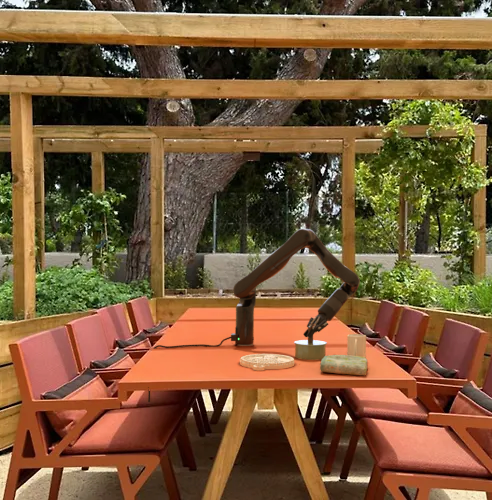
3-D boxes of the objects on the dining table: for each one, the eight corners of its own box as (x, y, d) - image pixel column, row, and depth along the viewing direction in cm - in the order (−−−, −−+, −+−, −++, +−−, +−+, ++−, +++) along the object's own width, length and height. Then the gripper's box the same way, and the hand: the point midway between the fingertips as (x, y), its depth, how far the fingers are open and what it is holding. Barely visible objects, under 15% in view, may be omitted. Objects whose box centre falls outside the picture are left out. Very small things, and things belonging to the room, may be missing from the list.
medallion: (299, 360, 266) (299, 355, 266) (285, 372, 240) (285, 366, 240) (248, 357, 272) (249, 352, 272) (229, 368, 246) (229, 362, 246)
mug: (363, 366, 254) (363, 338, 254) (343, 365, 257) (343, 337, 257) (367, 361, 265) (367, 334, 265) (348, 360, 268) (348, 333, 268)
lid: (294, 347, 265) (294, 328, 265) (293, 342, 280) (293, 324, 280) (328, 347, 265) (328, 329, 265) (325, 342, 280) (325, 325, 280)
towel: (368, 366, 254) (368, 354, 254) (366, 377, 233) (366, 363, 233) (324, 364, 258) (325, 352, 258) (319, 374, 237) (319, 361, 237)
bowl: (295, 360, 266) (296, 346, 266) (294, 355, 280) (294, 341, 280) (326, 361, 266) (326, 346, 266) (323, 355, 279) (323, 341, 279)
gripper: (317, 301, 282) (294, 329, 277) (333, 304, 269) (308, 332, 264) (327, 312, 284) (304, 339, 279) (343, 315, 271) (319, 344, 266)
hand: (306, 336), depth 272 cm, fingers closed on lid, 2 cm apart
